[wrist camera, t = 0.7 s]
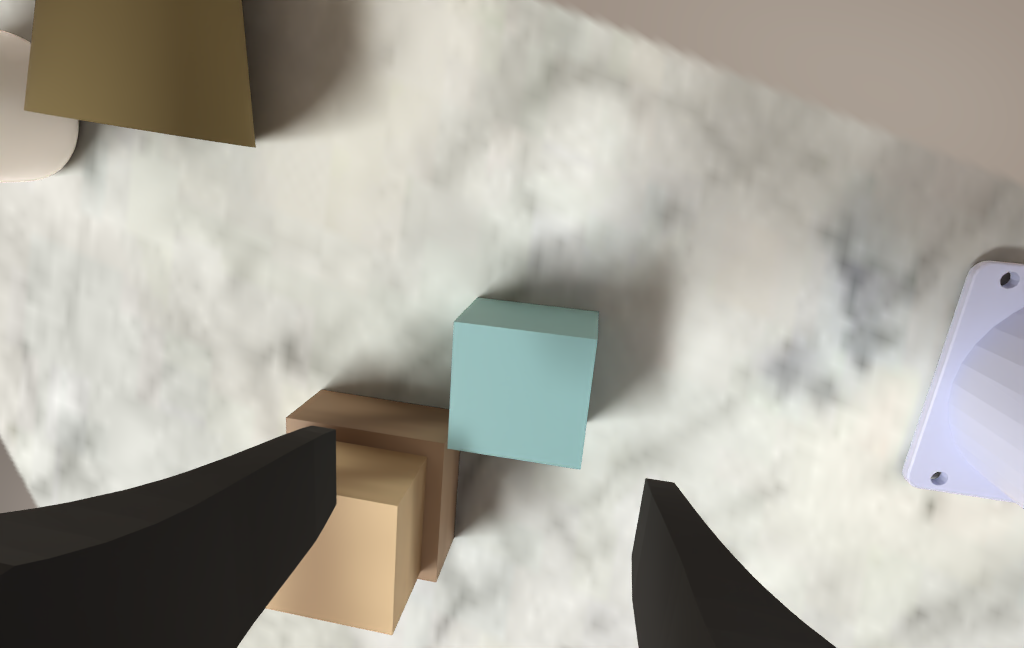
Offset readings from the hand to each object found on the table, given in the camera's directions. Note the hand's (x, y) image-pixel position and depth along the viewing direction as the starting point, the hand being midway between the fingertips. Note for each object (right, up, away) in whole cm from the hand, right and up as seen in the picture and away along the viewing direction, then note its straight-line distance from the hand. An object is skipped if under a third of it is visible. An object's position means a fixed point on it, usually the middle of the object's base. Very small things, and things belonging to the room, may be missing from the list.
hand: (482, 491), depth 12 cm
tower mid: (-5, -3, +8) cm, 10 cm away
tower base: (-4, -2, +11) cm, 12 cm away
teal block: (+1, +2, +8) cm, 9 cm away
